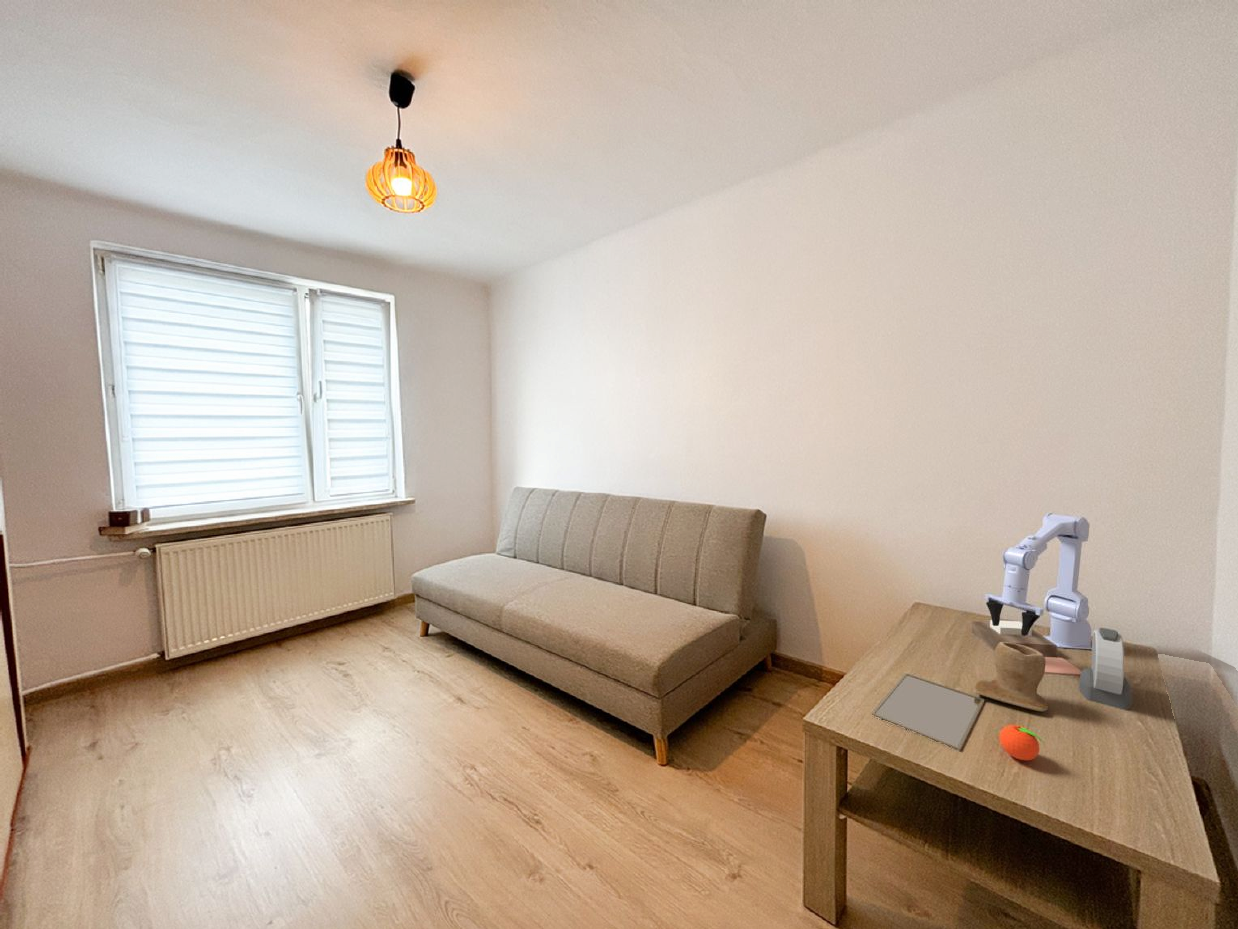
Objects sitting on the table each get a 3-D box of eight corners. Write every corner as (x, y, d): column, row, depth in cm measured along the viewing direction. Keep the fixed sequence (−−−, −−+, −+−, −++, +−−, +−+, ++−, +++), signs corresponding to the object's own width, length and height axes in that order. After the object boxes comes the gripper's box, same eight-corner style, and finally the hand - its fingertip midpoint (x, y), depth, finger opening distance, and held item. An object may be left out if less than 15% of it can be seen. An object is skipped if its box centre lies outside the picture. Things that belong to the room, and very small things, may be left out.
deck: (1023, 635, 164) (1024, 624, 164) (1055, 657, 149) (1056, 645, 148) (972, 632, 168) (972, 621, 167) (998, 653, 152) (998, 641, 152)
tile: (1019, 628, 161) (1020, 621, 161) (1031, 636, 155) (1031, 629, 155) (990, 626, 163) (990, 620, 162) (1000, 634, 157) (1000, 627, 157)
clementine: (1046, 758, 105) (1047, 728, 105) (1044, 775, 101) (1045, 743, 100) (1000, 742, 111) (1001, 713, 110) (996, 757, 106) (998, 727, 106)
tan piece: (1046, 698, 127) (1049, 645, 126) (1048, 720, 118) (1051, 663, 117) (976, 680, 137) (978, 630, 136) (973, 698, 128) (975, 646, 127)
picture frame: (959, 753, 108) (984, 702, 127) (960, 749, 108) (984, 699, 127) (871, 717, 122) (905, 676, 141) (871, 713, 122) (905, 672, 141)
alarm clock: (1136, 716, 119) (1140, 646, 118) (1080, 701, 126) (1083, 635, 124) (1128, 688, 131) (1132, 625, 129) (1077, 676, 138) (1080, 616, 136)
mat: (1061, 659, 147) (1062, 657, 147) (1086, 675, 138) (1086, 674, 138) (996, 655, 151) (996, 653, 151) (1015, 671, 141) (1015, 669, 141)
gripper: (981, 580, 150) (976, 622, 150) (1037, 595, 137) (1030, 640, 137) (994, 579, 153) (988, 620, 153) (1049, 594, 140) (1043, 639, 140)
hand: (1009, 630), depth 146 cm, fingers open, 7 cm apart
